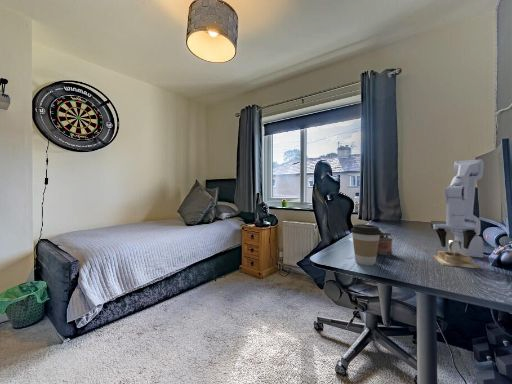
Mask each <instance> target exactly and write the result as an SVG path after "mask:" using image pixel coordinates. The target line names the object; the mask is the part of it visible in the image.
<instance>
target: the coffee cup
mask: <svg viewBox="0 0 512 384" xmlns="http://www.w3.org/2000/svg"><path fill="white" fill-rule="evenodd" d="M350 232H351V235H352V245H353V251H354V260H355V263H356V264H359V265H362V266H367V267H368V266H371V267H372V266H375V264H376V261H377V256H378V254H377V250H378V244H379V237H380V235H381V232H382V231H381V230H380V227H379V226H377V225H372V224H365V223H364V224H363V223H362V224H360V223H359V224H353V227H352V228H351V230H350Z"/></svg>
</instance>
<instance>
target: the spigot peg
mask: <svg viewBox="0 0 512 384" xmlns="http://www.w3.org/2000/svg"><path fill="white" fill-rule="evenodd" d="M447 248H448V250H447V252H448V255H449V256H460V257H461V241H457V240H455V239H448V245H447Z"/></svg>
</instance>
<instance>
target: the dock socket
mask: <svg viewBox="0 0 512 384" xmlns="http://www.w3.org/2000/svg"><path fill="white" fill-rule="evenodd" d="M431 258H432V259H434V260H435V261H437V262H438V263H440V265H441V266H448V267H449V266H450V267H451V266H452V267H459V268H470V269H481V266H480V265H479V264H477V263H475V262H474V261H473V257H471V256H467V255H465V254H463V253H461V257H460V256H449V255H448V250H447V251H445V250H444V251H443V250H438V251H437V255H436V254H435V255H434V254H431Z"/></svg>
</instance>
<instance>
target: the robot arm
mask: <svg viewBox="0 0 512 384" xmlns="http://www.w3.org/2000/svg"><path fill="white" fill-rule="evenodd" d="M484 166H485V164H484V160H483V159H471V160H470V159H468V160H456V161H454V164H453V171H454V174H455V176H453V177H452V179H451V182H450V184H449V185H448V186H446V187H445V188H444V189H445V190H444V197H445V204H446V214H445V215H446V216H445V217H446V219H445V223H446V224H445V223H442V224H441V223H433V226H432V228H433V230H435V233H437V236H438V238H439V241H440V246H441V247H443V248H446V244H447V243H446V242H447V241H446V240H447V239H446V238H447V233H448V232H447V231H446V230H448V231H449V230H450V231H451V233H452V234H453V235H454V240H457V241H461V253H463V254H465V255H467V256H469V257H471V258H473V257H474V258H485V256H484V240H483V238H482V237H481V236H479V235H480V234H481V228H482V227H481V219H480V218H479V217H478V216H476V215H475V214H474V204H475V195H476V185H477V182H478V181H479V180H481V179H483V176H484V168H485V167H484Z"/></svg>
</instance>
